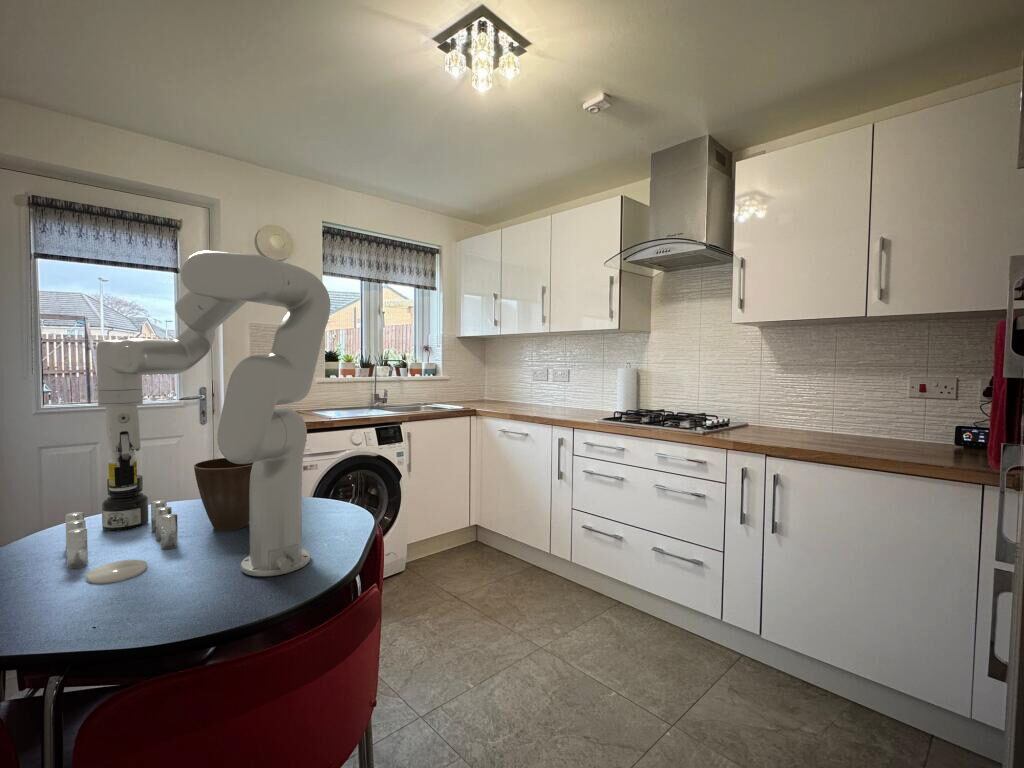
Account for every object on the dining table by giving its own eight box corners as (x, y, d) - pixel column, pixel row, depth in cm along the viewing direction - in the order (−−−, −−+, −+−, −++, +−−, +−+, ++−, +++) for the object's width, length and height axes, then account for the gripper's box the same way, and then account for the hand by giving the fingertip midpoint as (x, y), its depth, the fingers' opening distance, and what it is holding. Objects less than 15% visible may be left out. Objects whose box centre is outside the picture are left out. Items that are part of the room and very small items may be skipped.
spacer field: (178, 548, 108) (178, 516, 107) (67, 570, 95) (66, 534, 95) (165, 528, 120) (165, 499, 120) (65, 545, 108) (65, 513, 108)
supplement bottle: (121, 492, 104) (120, 452, 103) (103, 490, 104) (102, 451, 104) (143, 486, 108) (141, 448, 108) (125, 485, 109) (124, 447, 109)
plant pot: (188, 540, 112) (188, 470, 112) (200, 520, 126) (199, 458, 125) (262, 532, 118) (262, 466, 118) (265, 514, 132) (265, 454, 131)
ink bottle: (91, 533, 116) (90, 482, 115) (116, 521, 125) (115, 473, 124) (136, 532, 117) (135, 481, 117) (158, 520, 126) (157, 473, 125)
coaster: (150, 574, 94) (150, 570, 94) (88, 588, 88) (88, 583, 88) (143, 559, 101) (143, 556, 101) (85, 572, 95) (85, 567, 95)
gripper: (148, 399, 102) (150, 487, 103) (137, 395, 114) (140, 473, 115) (100, 401, 97) (103, 493, 98) (95, 397, 109) (98, 479, 110)
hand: (123, 482), depth 106 cm, fingers closed on supplement bottle, 4 cm apart
